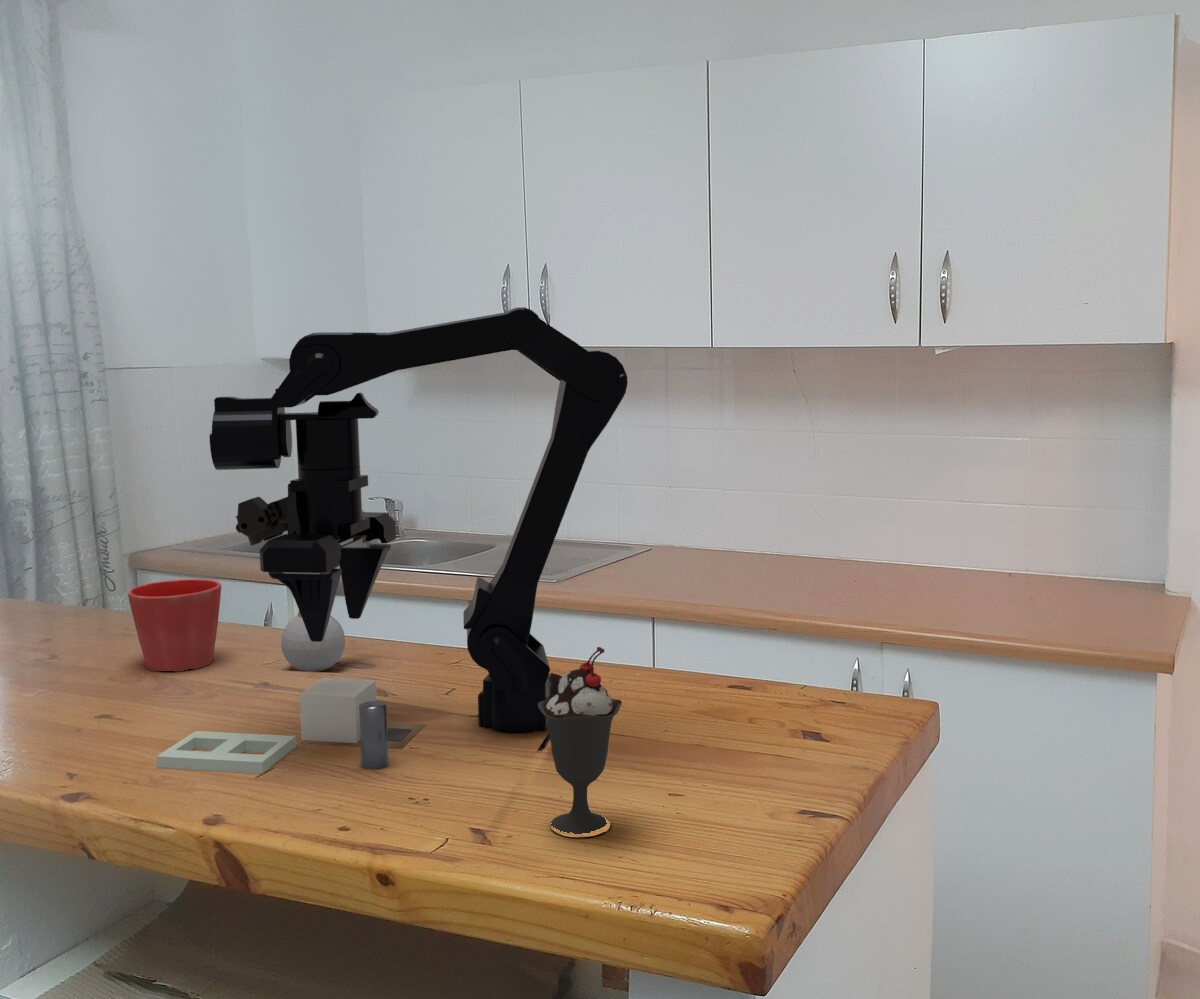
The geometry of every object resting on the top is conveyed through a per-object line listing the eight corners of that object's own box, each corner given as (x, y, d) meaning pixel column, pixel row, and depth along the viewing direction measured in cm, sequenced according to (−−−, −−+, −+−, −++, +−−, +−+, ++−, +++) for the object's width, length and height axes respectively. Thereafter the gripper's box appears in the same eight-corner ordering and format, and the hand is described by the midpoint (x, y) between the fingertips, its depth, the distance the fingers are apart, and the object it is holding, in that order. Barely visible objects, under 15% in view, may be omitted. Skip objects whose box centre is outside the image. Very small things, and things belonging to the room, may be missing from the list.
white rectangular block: (377, 724, 115) (375, 680, 114) (356, 742, 110) (355, 696, 109) (324, 721, 116) (322, 677, 115) (301, 740, 110) (299, 694, 110)
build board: (296, 761, 109) (295, 736, 109) (263, 789, 102) (261, 762, 102) (197, 756, 111) (196, 731, 110) (157, 783, 104) (156, 756, 103)
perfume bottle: (268, 673, 139) (264, 574, 137) (323, 654, 148) (319, 561, 146) (317, 681, 136) (313, 580, 134) (370, 661, 144) (367, 566, 143)
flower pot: (113, 667, 142) (108, 589, 141) (190, 648, 151) (186, 574, 150) (166, 681, 136) (162, 599, 135) (243, 660, 145) (239, 583, 144)
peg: (392, 776, 105) (390, 701, 104) (383, 786, 103) (381, 709, 102) (367, 775, 105) (364, 700, 104) (357, 785, 103) (354, 708, 102)
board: (426, 739, 115) (425, 704, 115) (402, 763, 108) (401, 727, 108) (330, 734, 117) (329, 700, 116) (301, 758, 110) (299, 722, 109)
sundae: (626, 841, 91) (626, 654, 89) (540, 844, 90) (538, 656, 88) (618, 808, 97) (617, 633, 95) (538, 811, 97) (535, 635, 95)
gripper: (291, 457, 120) (299, 606, 122) (199, 478, 102) (209, 652, 104) (394, 457, 118) (400, 608, 120) (319, 478, 100) (327, 655, 102)
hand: (336, 629), depth 112 cm, fingers open, 9 cm apart
